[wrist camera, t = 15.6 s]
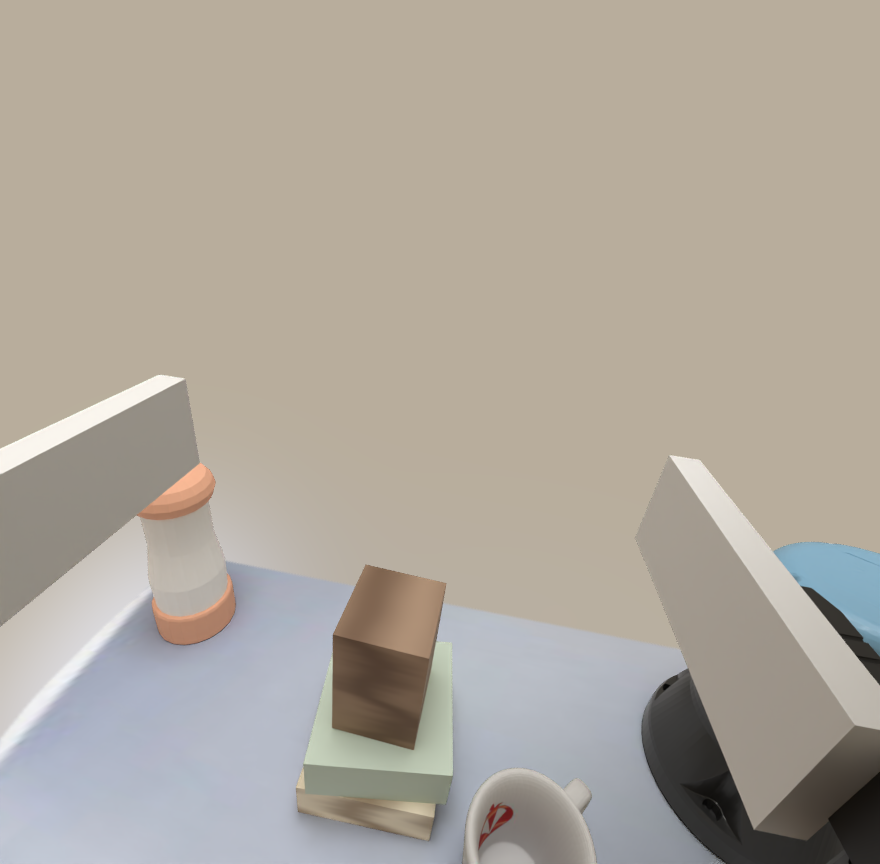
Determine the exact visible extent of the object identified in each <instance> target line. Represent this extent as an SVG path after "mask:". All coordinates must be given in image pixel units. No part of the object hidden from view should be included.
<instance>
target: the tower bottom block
mask: <svg viewBox="0 0 880 864" xmlns="http://www.w3.org/2000/svg"><path fill="white" fill-rule="evenodd" d="M296 794H297V806H298V812H301V813H306V814H310V815H315V816H319V817H324V818H328V819H332V820H337V821H341V822H346V823H350V824H355V825H359V826H364V827H368V828H373V829H377V830H382V831H386V832H391V833H395V834H400V835H404V836H408V837H413V838H417V839H422V840H426V841H429V838H430V834H431V829H432V825H433V820H434V814H435V805H436V804H431V803H418V802H405V801H393V800H380V799H367V798H354V797H341V796H328V795H315V794H305V782H304V767H303V769H302V772H301V775H300V778H299V780H298V783H297V786H296Z"/></svg>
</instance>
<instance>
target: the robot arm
mask: <svg viewBox="0 0 880 864" xmlns="http://www.w3.org/2000/svg"><path fill="white" fill-rule="evenodd" d="M199 463H200V461H199V455H198V450H197V444H196V438H195V433H194V426H193V420H192V414H191V408H190V403H189V397H188V391H187V386H186V380H185V379H184V378H177V377H171V376H165V375H158V376H155V377H153V378H151V379H149V380H147V381H145V382H142V383H141V384H138V385H136V386H134V387H132V388H130V389H127V390H125V391H123V392H121V393H119V394H117V395H115V396H113V397H110V398H108V399H106V400H104V401H102V402H99V403H97V404H95V405H93V406H91V407H89V408H87V409H85V410H82V411H80V412H78V413H76V414H74V415H72V416H69V417H68V418H65V419H63V420H61V421H59V422H57V423H54V424H52V425H50V426H48V427H46V428H44V429H42V430H39V431H37V432H35V433H33V434H31V435H29V436H27V437H25V438H22V439H20V440H18V441H16V442H14V443H12V444H9V445H7V446H5V447H3V448H1V449H0V627H1V626H2V625H3V624H4V623H5V622H7V621H8V620H9V619H10V618H12V617H13V616H14V615H15V614H17V612H19V611H20V610H21V609H23V608H24V607H25V606H26V605H27V604H29V603H30V602H31V601H32V600H34V599H35V598H36V597H37V596H38V595H40V594H41V593H42V592H43V591H45V590H46V589H47V588H48V587H49V586H51V585H52V584H53V583H54V582H56V581H57V580H58V579H59V578H60V577H62V576H63V575H64V574H65V573H67V571H69V570H70V569H71V568H73V567H74V566H75V565H76V564H78V563H79V562H80V561H81V560H82V559H84V558H85V557H86V556H87V555H88V554H90V553H91V552H92V551H93V550H95V549H96V548H97V547H98V546H99V545H101V544H102V543H103V542H104V541H105V540H107V539H108V538H109V537H110V536H111V535H113V534H114V533H115V532H117V531H118V530H119V529H120V528H121V527H123V526H124V525H125V524H126V523H127V522H129V521H130V520H131V519H132V518H134V517H135V516H136V515H137V514H139V513H140V512H141V511H142V510H143V509H145V508H146V507H147V506H148V505H149V504H151V503H152V502H153V501H154V500H156V499H157V498H158V497H159V496H160V495H162V494H163V493H164V492H165V491H167V490H168V489H169V488H170V487H171V486H173V485H174V484H175V483H176V482H178V481H179V480H180V479H181V478H182V477H184V476H185V475H186V474H187V473H189V472H190V471H191V470H192V469H193V468H195V467H196V466H197V465H198V464H199ZM635 538H636V541H637V544H638V546H639V549H640V551H641V554H642V556H643V559H644V561H645V563H646V566H647V568H648V571H649V573H650V576H651V578H652V581H653V583H654V585H655V588H656V590H657V593H658V595H659V598H660V600H661V602H662V605H663V608H664V610H665V613H666V615H667V617H668V620H669V622H670V625H671V627H672V630H673V632H674V634H675V637H676V640H677V642H678V644H679V647H680V649H681V652H682V654H683V657H684V659H685V662H686V664H687V667H688V669H686V670H684V671H682V672H681V673H679V674H678V675H675V676H673V677H671V678H669V679H668V680H666V681H665V682H663V683H662V684H661V685H660V686H659V687H658V688H657V690H656V691H655V693H654V694H653V696H652V698H651V700H650V701H649V703H648V705H647V707H646V709H645V712H644V715H643V720H642V739H643V746H644V750H645V754H646V757H647V760H648V763H649V766H650V769H651V771H652V773H653V776H654V778H655V780H656V782H657V784H658V786H659V787H660V789H661V791H662V793H663V794H664V796H665V798H666V799H667V801H668V802H669V804H670V805H671V807H672V808H673V809H674V811H675V812H676V813H677V815H678V816H679V817H680V819H681V820H682V821H683V822H684V823H685V825H686V826H687V827H688V828H689V829H690V830H691V831H692V832H693V833H694V834H695V836H696V837H697V838H698V839H699V840H701V841H702V842H703V843H704V844H705V845H706V846H707V847H708V848H709V849H710V850H711V851H713V852H714V853H715V854H716V855H718V856H719V857H720V858H721V859H723V860H724V861H725V862H727V863H728V864H880V554H879V553H875V552H872V551H868V550H864V549H861V548H856V547H852V546H846V545H841V544H828V543H821V542H801V543H795V544H790V545H787V546H783V547H781V548H778V549H777V550H775V551H772V550H771V549H770V548H769V547H768V545H767V544H766V542H765V541H764V540H763V539H762V538H761V536H760V535H759V534H758V532H757V531H756V530H755V529H754V527H752V525H751V524H750V522H749V521H748V520H747V519H746V517H745V516H744V515H743V514H742V513H741V511H740V510H739V509H738V507H737V506H736V505H735V504H734V502H733V501H732V500H731V499H730V497H729V496H728V495H727V494H726V492H725V491H724V490H723V489H722V488H721V486H720V485H719V484H718V482H717V481H716V480H715V479H714V478H713V476H712V475H711V474H710V472H709V471H708V470H707V469H706V468H705V466H704V465H703V464H702V463H701V461H700V460H696V459H690V458H684V457H678V456H671V455H669V456H668V459H667V461H666V464H665V466H664V469H663V471H662V474H661V476H660V478H659V481H658V483H657V486H656V488H655V490H654V493H653V495H652V498H651V500H650V502H649V505H648V507H647V510H646V512H645V515H644V517H643V519H642V522H641V524H640V527H639V529H638V532H637V534H636V536H635Z"/></svg>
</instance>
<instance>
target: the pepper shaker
mask: <svg viewBox="0 0 880 864" xmlns="http://www.w3.org/2000/svg"><path fill="white" fill-rule="evenodd" d="M214 487H215V479H214V477H213V475H212V473H211V471H210V470H209V469H208V468H207V467H205V466H204V465H202V464H201V463H199V464H198V465H197V466H196V467H195V468H193V469H192V470H191V471H190V472H189V473H187V474H186V475H185V476H184V477H182V478H181V479H180V480H179V481H178V482H176V483H175V484H174V485H173V486H171V487H170V488H169V489H168V490H167V491H165V492H164V493H163V494H162V495H160V496H159V497H158V498H157V499H156V500H154V501H153V502H152V503H151V504H149V505H148V506H147V507H146V508H145V509H143V510H142V511H141V512H140V513H139V514H137V516H139V517H140V518H141V522H142V526H143V530H144V534H145V538H146V542H147V549H148V578H149V583H150V586H151V589H152V592H153V595H154V597H153V600H152V608H153V613H154V616H155V620H156V623H157V627H158V630H159V633H160V635H161V636H162V637H163V638H164V640H166V641H169V642H171V643H173V644H182V645H187V644H193V643H198V642H201V641H203V640H206V639H208V638H211V637H212V636H214V635H215V634H217V633H218V632H220V631H221V630H222V629H223V628H224V627H225V626H226V625H227V624H228V623H229V622H230V620H231V618H232V617H233V615H234V613H235V605H236V604H235V597H234V591H233V584H232V581H231V578H230V576H229V575H228V574H227V571H226V562H225V557H224V554H223V551H222V549H221V546H220V544H219V541H218V539H217V536H216V534H215V532H214V529H213V523H212V518H211V512H210V506H209V499H210V498H211V496H212V494H213V490H214Z"/></svg>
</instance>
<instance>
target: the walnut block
mask: <svg viewBox="0 0 880 864" xmlns="http://www.w3.org/2000/svg"><path fill="white" fill-rule="evenodd" d="M445 588H446V583H443V582H439V581H434V580H430V579H425V578H421V577H417V576H412V575H408V574H404V573H400V572H395V571H391V570H387V569H383V568H378V567H374V566H370V565H365V568H364V570H363V572H362V574H361V576H360V578H359V580H358V582H357V584H356V587H355V589H354V591H353V593H352V595H351V597H350V599H349V601H348V604H347V606H346V608H345V610H344V612H343V614H342V616H341V618H340V621H339V623H338V625H337V627H336V629H335V631H334V633H333V674H332V728H334V729H338V730H341V731H345V732H349V733H352V734H356V735H360V736H363V737H367V738H370V739H374V740H378V741H381V742H385V743H388V744H392V745H396V746H399V747H403V748H407V749H410V750H414V747H415V742H416V738H417V733H418V728H419V724H420V719H421V714H422V710H423V705H424V700H425V696H426V691H427V687H428V682H429V677H430V673H431V667H432V662H433V656H434V651H435V645H436V639H437V634H438V628H439V622H440V617H441V611H442V605H443V599H444V594H445Z"/></svg>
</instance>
